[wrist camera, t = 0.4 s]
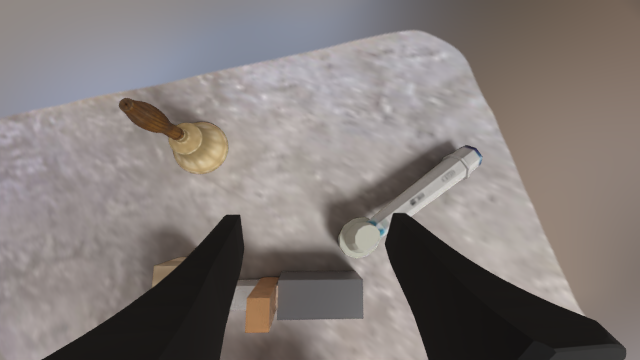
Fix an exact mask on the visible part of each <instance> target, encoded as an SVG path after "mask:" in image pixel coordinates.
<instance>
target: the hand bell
mask: <svg viewBox="0 0 640 360" xmlns="http://www.w3.org/2000/svg"><path fill="white" fill-rule="evenodd" d="M119 107H120V109H121V110H122V111H123V112H125V114H126V115H127V116H128V118H129V119H130V120H131V121H132V122H133V123H134V124H136V125H137V126H139V127H141V128H143V129H145V130H148V131H151V132H156V133H163V134H165V135H167V136H168V137H169V144H170V147H171V148H172V149H173V153H174V157H175V159H176V161H177V163H178V164H179V165H180V166H181V167H182V168H183V169H184V170H186V171H188V172H190V173H194V174H205V173H209V172H212V171H214V170H215V169H217V168H218V167H219V166H220V165H221V164H222V163H223V162H224V160H225V158H226V156H227V153H228V141H227V138H226V136H225V134H224V133H223V131H222V130H221V129H220V128H218V127H217V126H215V125H213V124H211V123H207V122H196V123H193V124H191V123H181V124H178V125H176V126H175V125H174V124H172V123H170V122H169V120H168V118H167V117H166V116H165V115H164V114H163V113H162V112H161V111H160V110H159V109H157V108H156V107H154V106H152V105H151V104H148V103H145V102H142V101H135V100H132V99H129V98H124V99H122V100H121V101H120V103H119Z"/></svg>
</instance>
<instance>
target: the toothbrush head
mask: <svg viewBox="0 0 640 360" xmlns="http://www.w3.org/2000/svg"><path fill="white" fill-rule="evenodd" d="M481 162H482V155H481V154H480V153H479V151H478V150H477V149H476V148H474V147H471V146H468V145H465V146H463V147H461V148H459V149H458V150H456V151H455V152H454V153H452V154H449V155H447V156H445V157H443V158H442V162H441V163H439V164H438V165H437V166H436V167H434V168H433V169H432V170H431V171H429V172H428V173H427V174H426V175H424V176H423V177H422V178H421V179H419V180H418V181H417V182H416V183H414V184H413V185H412V186H411V187H409V188H408V189H407V190H406V191H404V192H403V193H402V194H401V195H399V196H398V197H397V198H396V199H394V200H393V201H392V202H391V203H389V204H388V205H387V206H386V207H384V208H383V209H382V210H381V211H379V212H378V213H377V214H375V215H374V216H373V217H372V218H370V219H369V218H366V217H362V218H355V219H352V220H351V221H350V222H348V223H347V224H345V225H344V227H343V228H342V230H341V232H340V234H339V236H338V244H339V247H340V248H341V250H342V251H343V253H344V254H345V255H347V256H350V257H353V258H355V259H356V258H361V257H366V256H368V255H369V254H370V253H372V252H373V251H374V250H375V249H376V247H377V245H378V243H379V241H380V238H382V237H383V236H385V235H386V234H387V233H388V230H389V226H390V222H391V218H392V215H393V213H406V214H407V215H409V216H410V217H411V216H412V215H413V214H415V213H416V212H418V211H419V210H420V209H422V208H423V207H424V206H426V205H427V204H429V203H430V202H431V201H433V200H434V199H435V198H437V197H438V196H440V195H441V194H442V193H444V192H445V191H446V190H448V189H449V188H451V187H452V186H453V185H455V184H456V183H457V182H459V181H460V180H463V179H467V178H468V177H469V173H471V172H472V171H473V170H474V169H476V168H477V167H478V166H479V165H481Z"/></svg>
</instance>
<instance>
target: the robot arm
mask: <svg viewBox="0 0 640 360" xmlns="http://www.w3.org/2000/svg"><path fill="white" fill-rule="evenodd" d="M385 247H386V250H387V254H388V257H389V260H390V263H391V266H392V268H393V270H394V272H395V275H396V277H397V279H398V281H399V283H400V286H401V288H402V290H403V292H404V294H405V297H406V299H407V301H408V303H409V305H410V308H411V310H412V312H413V315H414V317H415V320H416V323H417V326H418V329H419V332H420V335H421V338H422V341H423V344H424V347H425V350H426V353H427V357H428V360H624V359H625V357H626V348H625V347H624V346H623V345H622V344H620V343H619V342H618V341H617V340H616V339H615V338H614V337H613V336H612V335H611V334H610V333H609V332H608V331H607V330H606V329H605V328H603V327H602V326H601V325H600V324H599V323H598V322H597V321H595V320H592V319H590V318H587V317H585V316H582V315H580V314H577V313H575V312H572V311H570V310H568V309H565V308H563V307H560V306H558V305H555V304H553V303H551V302H548V301H546V300H544V299H542V298H540V297H537V296H535V295H533V294H531V293H529V292H527V291H525V290H523V289H521V288H519V287H517V286H515V285H513V284H511V283H509V282H507V281H505V280H503V279H501V278H499V277H498V276H496V275H494V274H492V273H490V272H489V271H487V270H485V269H484V268H482V267H480V266H479V265H477V264H475V263H474V262H472V261H471V260H469V259H467V258H466V257H464V256H463V255H461V254H460V253H458V252H457V251H456V250H454V249H453V248H451V247H450V246H448V245H447V244H446V243H444V242H443V241H442V240H440V239H439V238H438V237H436V236H435V235H434V234H432V233H431V232H430V231H428V230H427V229H426V228H425V227H423V226H422V225H421V224H419V223H418V222H417V221H416V220H414V219H413V218H412V217H410V216H409V215H407V214H406V213H393V215H392V218H391V222H390V226H389V230H388V234H387V238H386V241H385ZM243 253H244V243H243V234H242V226H241V218H240V215H226V216H224V217H223V219H222V220H221V221H220V222H219V223H218V224H217V226H216V227H215V228H214V229H213V230H212V231H211V232H210V234H209V235H208V236H207V237H206V238H205V239H204V240H203V241H202V242H201V243H200V244H199V246H198V247H197V248H196V249H195V250H194V251H193V252H192V253H191V254H190V255H189V256H188V257H187V258H186V259H185V260H183V261H182V262H181V263H180V264H179V265H178V266H177V267H176V268H175V269H174V270H173V271H172V272H171V273H169V274H168V275H167V276H166V277H165V278H164V279H162V280H161V281H160V282H159V283H158V284H156V285H155V286H154V287H153V288H151V289H150V290H149V291H147V292H146V293H145V294H143V295H142V296H141V297H139V298H138V299H137V300H135V301H134V302H132V303H131V304H130V305H128V306H127V307H126V308H124V309H123V310H121V311H120V312H118V313H117V314H115V315H114V316H112V317H111V318H109V319H108V320H106V321H105V322H103V323H102V324H100V325H99V326H97V327H96V328H94V329H92V330H91V331H89V332H88V333H86V334H84V335H83V336H81V337H79V338H78V339H76V340H74V341H73V342H71V343H69V344H68V345H66V346H64V347H62V348H61V349H59V350H57V351H56V352H54V353H52V354H51V355H49V356H47V357H46V358H44V359H42V360H220V354H221V348H222V343H223V337H224V332H225V327H226V323H227V318H228V315H229V311H230V307H231V304H232V300H233V297H234V293H235V289H236V286H237V282H238V278H239V275H240V271H241V266H242V260H243Z"/></svg>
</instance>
